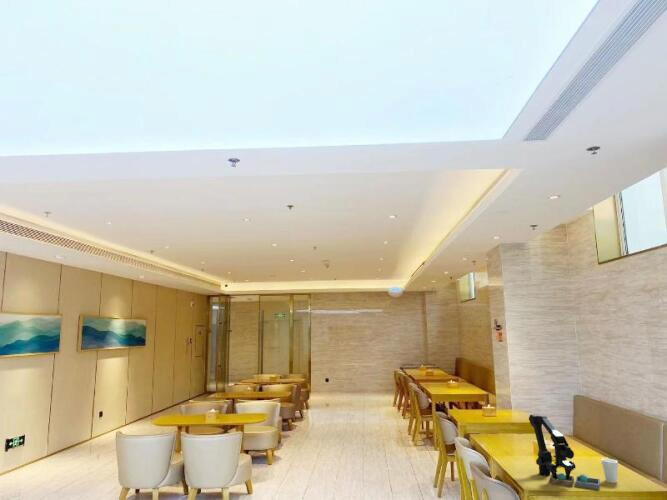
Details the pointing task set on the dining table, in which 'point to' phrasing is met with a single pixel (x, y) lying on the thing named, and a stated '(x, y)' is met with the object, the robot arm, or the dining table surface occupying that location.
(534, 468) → the dining table surface
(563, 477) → the teal ball
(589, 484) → the charcoal tray
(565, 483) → the walnut tray
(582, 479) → the ball
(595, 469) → the dining table surface
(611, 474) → the foam cup
